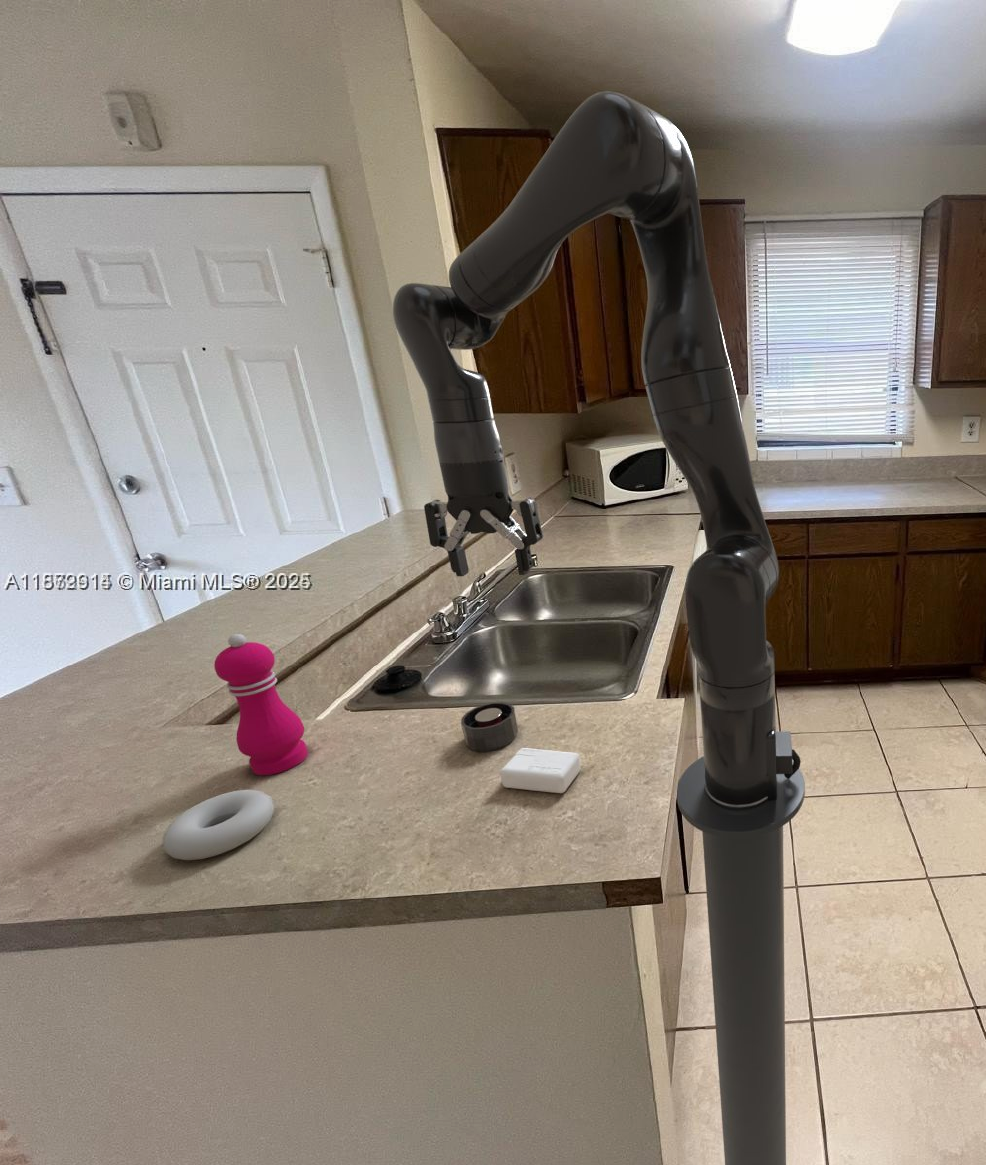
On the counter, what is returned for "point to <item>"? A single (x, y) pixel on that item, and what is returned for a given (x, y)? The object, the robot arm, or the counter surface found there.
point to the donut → (218, 825)
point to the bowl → (490, 728)
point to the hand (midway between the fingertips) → (494, 574)
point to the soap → (541, 770)
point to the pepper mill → (260, 708)
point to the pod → (488, 717)
